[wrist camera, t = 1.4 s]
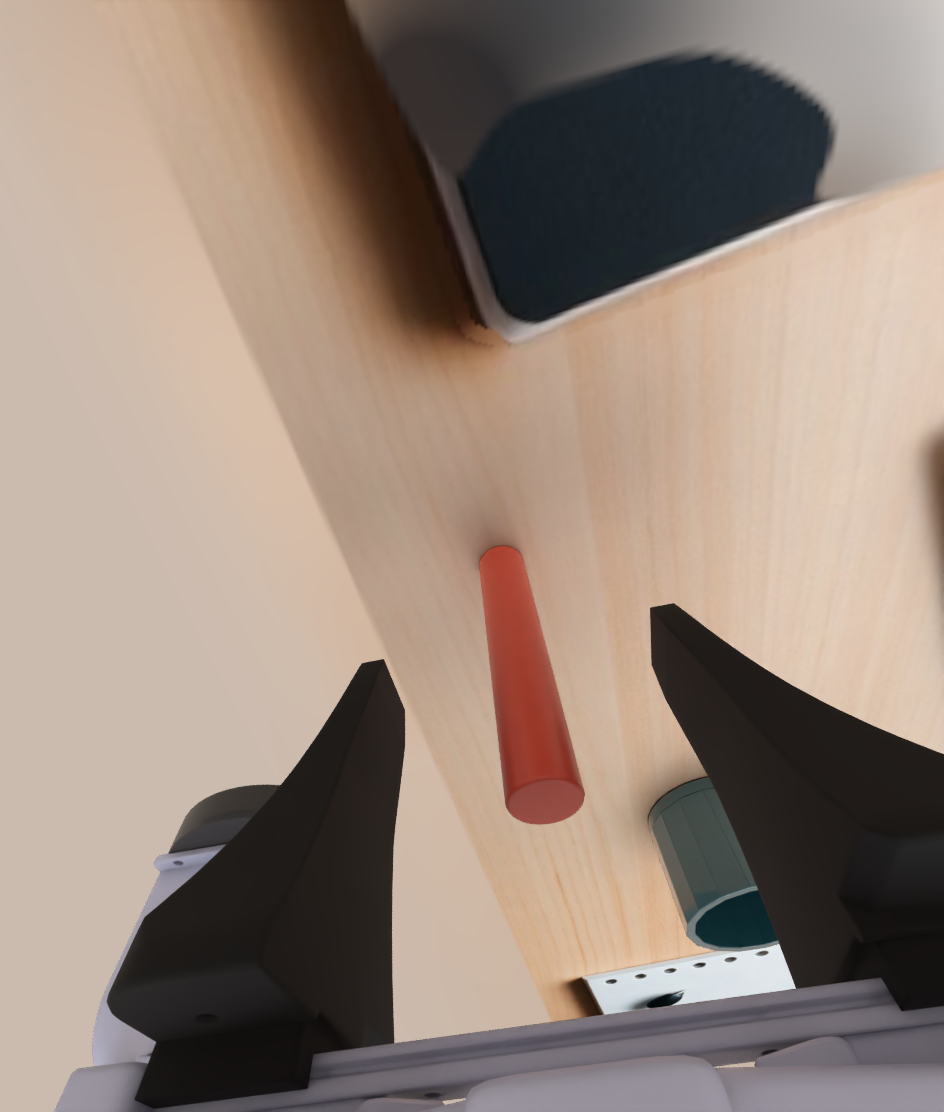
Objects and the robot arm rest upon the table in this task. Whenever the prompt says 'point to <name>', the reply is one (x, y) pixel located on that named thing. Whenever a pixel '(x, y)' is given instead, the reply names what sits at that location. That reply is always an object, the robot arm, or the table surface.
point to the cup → (708, 871)
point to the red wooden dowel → (526, 698)
